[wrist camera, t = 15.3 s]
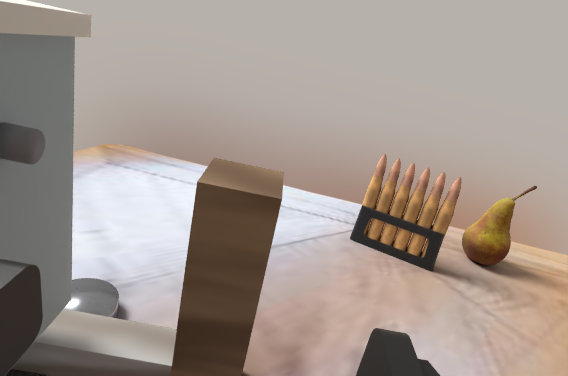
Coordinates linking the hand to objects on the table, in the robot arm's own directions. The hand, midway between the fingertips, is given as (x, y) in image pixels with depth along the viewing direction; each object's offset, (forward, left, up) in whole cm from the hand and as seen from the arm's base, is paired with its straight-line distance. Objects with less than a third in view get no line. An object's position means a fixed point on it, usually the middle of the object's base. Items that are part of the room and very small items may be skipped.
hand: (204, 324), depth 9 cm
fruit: (-49, +8, -15) cm, 52 cm away
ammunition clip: (-40, -2, -15) cm, 43 cm away
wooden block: (-6, -11, -15) cm, 20 cm away
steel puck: (-8, -17, -15) cm, 24 cm away
